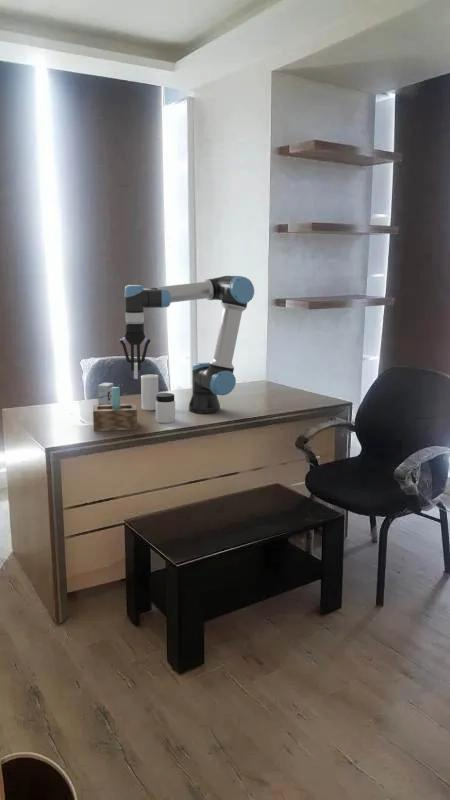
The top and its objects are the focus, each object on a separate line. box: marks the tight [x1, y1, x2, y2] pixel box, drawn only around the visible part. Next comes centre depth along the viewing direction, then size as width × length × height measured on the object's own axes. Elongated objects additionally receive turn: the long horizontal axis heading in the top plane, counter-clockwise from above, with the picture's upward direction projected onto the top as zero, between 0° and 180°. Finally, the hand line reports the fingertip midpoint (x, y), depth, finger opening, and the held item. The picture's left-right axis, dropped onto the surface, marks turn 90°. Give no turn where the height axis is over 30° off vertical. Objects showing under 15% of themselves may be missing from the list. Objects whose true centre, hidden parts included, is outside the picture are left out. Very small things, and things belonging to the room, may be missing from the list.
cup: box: [140, 373, 159, 411], centre depth 297 cm, size 8×8×16 cm
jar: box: [155, 392, 176, 424], centre depth 273 cm, size 9×8×12 cm
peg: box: [112, 386, 121, 409], centre depth 262 cm, size 3×3×16 cm
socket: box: [92, 403, 138, 432], centre depth 263 cm, size 18×12×8 cm, turn 102°
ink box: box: [97, 382, 114, 405], centre depth 297 cm, size 9×5×12 cm, turn 168°
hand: (135, 378), depth 261 cm, fingers closed
